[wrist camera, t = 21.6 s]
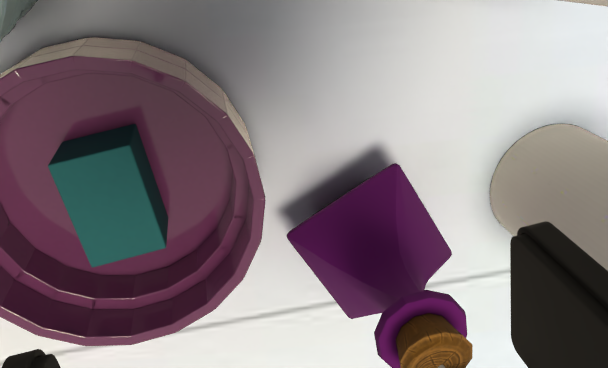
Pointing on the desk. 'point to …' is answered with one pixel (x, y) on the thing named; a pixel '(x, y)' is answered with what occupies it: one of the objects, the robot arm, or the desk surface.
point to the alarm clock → (590, 2)
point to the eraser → (110, 195)
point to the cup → (556, 186)
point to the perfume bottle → (387, 270)
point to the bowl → (169, 178)
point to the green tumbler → (12, 14)
